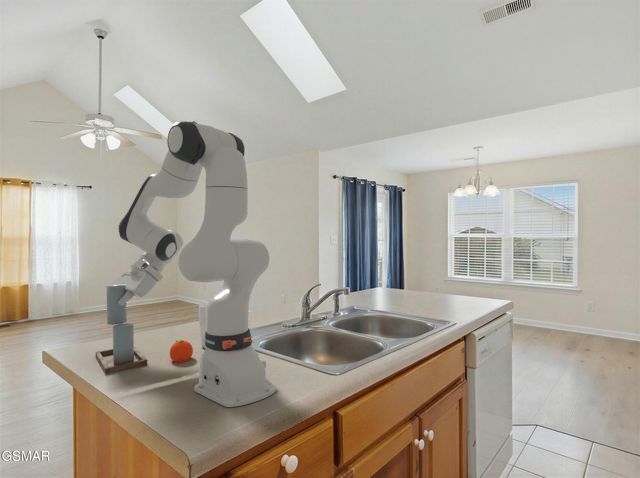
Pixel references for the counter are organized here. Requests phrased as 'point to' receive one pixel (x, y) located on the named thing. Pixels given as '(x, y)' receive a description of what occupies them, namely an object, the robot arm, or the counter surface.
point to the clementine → (181, 351)
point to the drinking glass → (203, 323)
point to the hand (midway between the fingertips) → (114, 303)
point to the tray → (107, 364)
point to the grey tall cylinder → (123, 344)
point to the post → (115, 304)
